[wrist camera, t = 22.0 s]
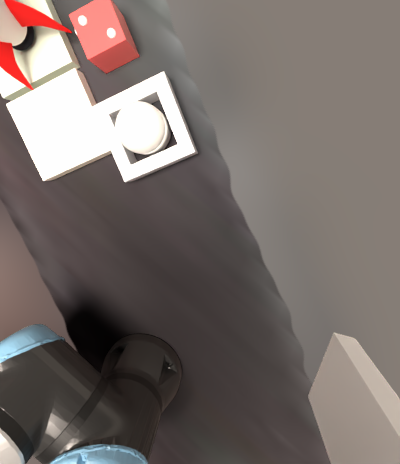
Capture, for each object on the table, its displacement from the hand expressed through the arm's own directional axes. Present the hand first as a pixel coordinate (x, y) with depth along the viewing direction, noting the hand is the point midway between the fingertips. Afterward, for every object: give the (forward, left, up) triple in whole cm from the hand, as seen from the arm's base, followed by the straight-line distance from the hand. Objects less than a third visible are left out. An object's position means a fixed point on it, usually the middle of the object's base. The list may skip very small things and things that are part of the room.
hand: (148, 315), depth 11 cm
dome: (+8, +13, -38) cm, 41 cm away
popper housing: (+8, +13, -39) cm, 42 cm away
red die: (+20, +21, -39) cm, 48 cm away
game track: (+11, +31, -39) cm, 51 cm away
